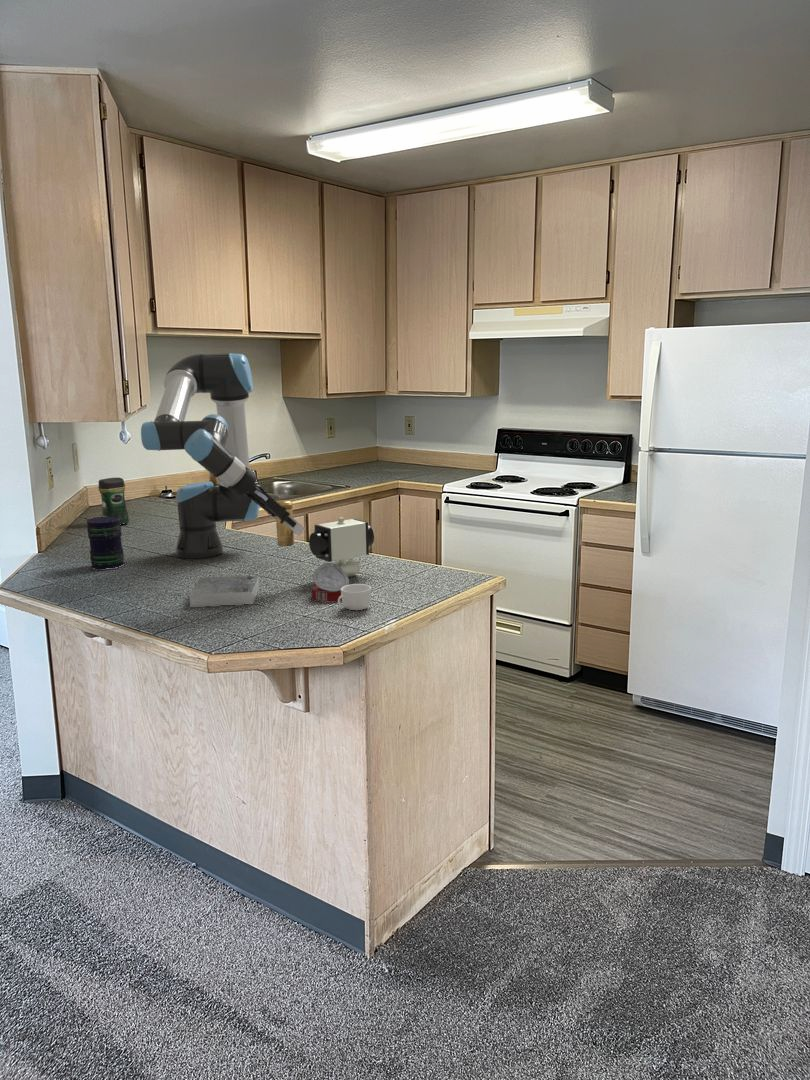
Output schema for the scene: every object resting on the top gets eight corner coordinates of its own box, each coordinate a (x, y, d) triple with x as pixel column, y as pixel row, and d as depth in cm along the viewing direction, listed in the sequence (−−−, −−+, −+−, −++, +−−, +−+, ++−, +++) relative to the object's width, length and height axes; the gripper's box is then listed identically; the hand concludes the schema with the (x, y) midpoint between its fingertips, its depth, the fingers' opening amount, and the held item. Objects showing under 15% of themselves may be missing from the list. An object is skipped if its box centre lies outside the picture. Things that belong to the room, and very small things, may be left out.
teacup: (357, 602, 209) (357, 582, 207) (378, 607, 203) (377, 587, 202) (328, 610, 202) (327, 590, 200) (349, 617, 196) (348, 596, 195)
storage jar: (84, 568, 248) (79, 521, 245) (109, 561, 256) (104, 515, 253) (107, 571, 243) (102, 523, 240) (131, 564, 252) (127, 517, 249)
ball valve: (359, 569, 241) (357, 511, 237) (375, 574, 234) (374, 515, 230) (307, 579, 231) (305, 519, 227) (323, 586, 224) (320, 523, 220)
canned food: (345, 609, 218) (362, 577, 216) (334, 616, 209) (351, 584, 207) (310, 588, 220) (326, 557, 218) (297, 594, 210) (314, 562, 208)
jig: (201, 589, 222) (200, 575, 221) (259, 587, 223) (258, 573, 222) (190, 607, 206) (189, 592, 206) (252, 604, 208) (252, 589, 207)
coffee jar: (123, 521, 320) (118, 475, 316) (131, 524, 314) (127, 477, 310) (99, 525, 314) (94, 478, 310) (107, 528, 308) (102, 480, 304)
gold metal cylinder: (278, 542, 223) (275, 500, 220) (294, 542, 223) (292, 499, 221) (276, 546, 219) (274, 503, 216) (293, 546, 219) (291, 503, 216)
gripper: (217, 483, 217) (278, 535, 229) (237, 492, 202) (301, 547, 214) (235, 462, 219) (294, 514, 230) (256, 469, 204) (319, 525, 215)
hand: (298, 530), depth 222 cm, fingers closed on gold metal cylinder, 4 cm apart
